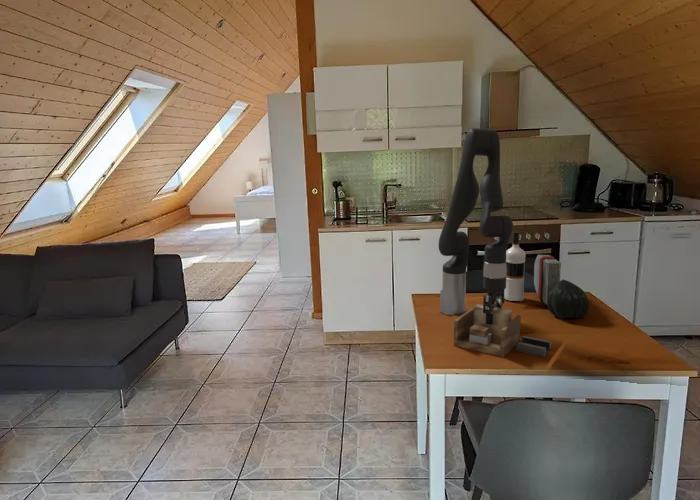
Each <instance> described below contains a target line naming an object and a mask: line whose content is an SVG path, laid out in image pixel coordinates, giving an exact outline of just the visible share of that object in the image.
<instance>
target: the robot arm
mask: <svg viewBox="0 0 700 500" xmlns="http://www.w3.org/2000/svg"><path fill="white" fill-rule="evenodd" d="M476 156H481V157H482V156H484V157H485V156H486V157H487V163H488V164H487V168H486V171H485V172H484V175H483V177H482V178H481V181H480V183H479V182H478V179H477V177H476V174H475V171H474V162H475V157H476ZM500 170H501V142H500V136H499V133H498V131H496V130H495V129H492V128H478V127H477V128H476V127H475V128H473V127H472V128H470V129H468V131H467V132H466V134H465V137H464V141H463V146H462V153H461V157H460V164H459V169H458V173H457V177H456V180H455V185H454V187H453V192H452V195H451V201H450V205H449V208H448V211H447V212H448V213H447V215H446V219H445V222H444V225H443V227H442V230H441V233H440V235H439V238H438V251H439V253H440V254H441V255H442V256H444V257H451V256H452V257H451V258H450V259H448V261H446V262H445V263H443V264H442V285H441V286H442V288H441V289H440V294H439V296H440V297H439V312H440V313H443V314H445V315H448V316H454V315H457V314H458V315H459V314H464V313H465V312H466V293H467V292H466V289H467V288H466V287H467V286H466V285H467V267H468V264H469V256H470V255H469V254H470V253H469V252H470V251H469V250H470V241H469V236H468V235H467V233H466V232H465V231H462V230H461V231H458V230H459V228H460V227H461V225H462V224H463V222H464V221H465V220H466V219H467V218H468V217H469V216H470V215H471V213H472V212H473V211H474V210H475V207H476V205H477V201H478V198H479V195H480V203H481V215H480V221H479V226H478V227H479V228H478V229H479V232H480V234H481V235H482V237H484V238H497V240H496V241H495V242H492V243H489V244H486V245H485V247H484V258H483V259H484V264H483V272H482V273H483V275H482V276H483V277H482V278H483V280H482V285H483V287H482V288H483V289H485V290H487V294H486V295H483V303H482V305H483V313H486V324H490V325H492V324H493V311H494V308H496V307H497V308H502V309H503V305H504V304H505V300H504V290H505V289H506V275H507V267H506V251H507V250H508V245H509V244H510V243H509V242H510V239H511V237H512V235H513V230H514V223H513V220H512V218H511V217H510V216H508V215H492V213H494V212H498V211H500V210H502V209H503V208H504V198H503V192H502V186H501V171H500ZM488 308H489V310H488Z"/></svg>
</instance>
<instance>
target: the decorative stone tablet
mask: <svg viewBox="0 0 700 500" xmlns="http://www.w3.org/2000/svg"><path fill="white" fill-rule="evenodd" d="M561 265H562V264H561V262H560V261H558V259H557V258H556V257H554V256H553V255H550V254H537V256H536V259H535V261H534V267H533V268H534V269H533V273H534V274H533V282H534V283H533V284H534V289H535V291H536V295H537V298H538V299H539V300H540V302H541V301H544V302H543V303H544V304H545V305H547V297H548V294H549V293H550V291H551V290H552V289H553V288H554V287H555V286H556V285H557V284H558V283H559V282H560V281H561V269H562V268H561Z"/></svg>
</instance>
